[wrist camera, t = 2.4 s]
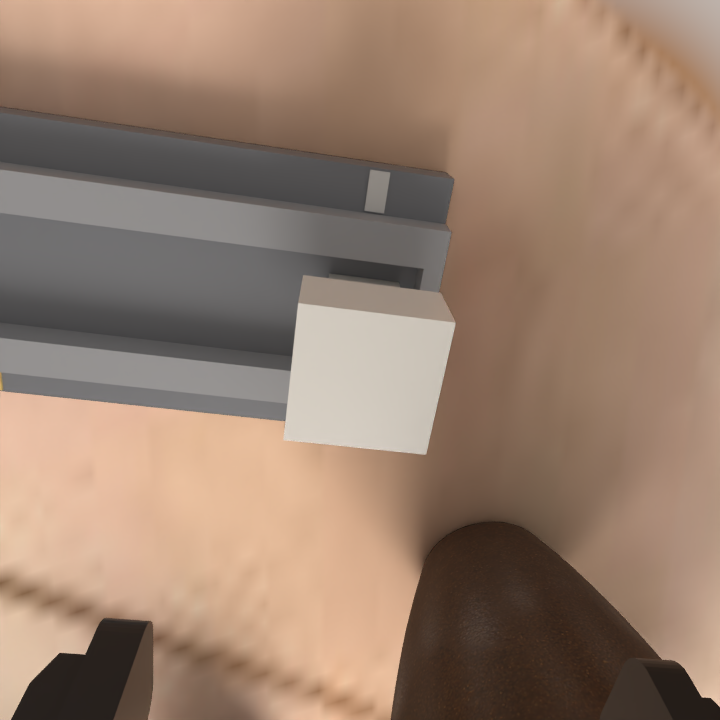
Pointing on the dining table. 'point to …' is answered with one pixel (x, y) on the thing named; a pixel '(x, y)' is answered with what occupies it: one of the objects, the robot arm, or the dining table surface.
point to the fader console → (187, 258)
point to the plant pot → (508, 634)
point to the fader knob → (367, 364)
